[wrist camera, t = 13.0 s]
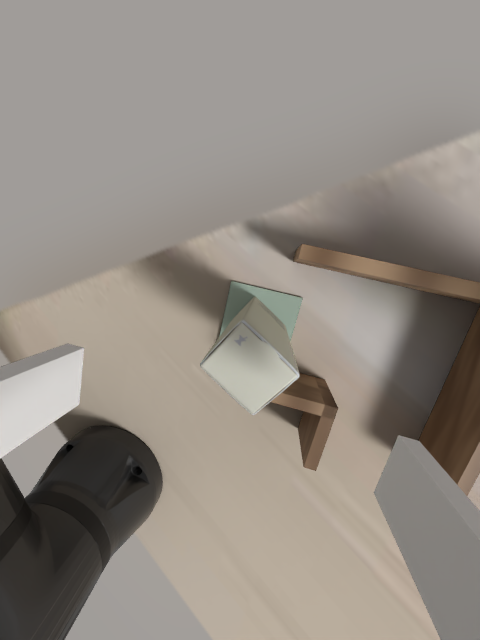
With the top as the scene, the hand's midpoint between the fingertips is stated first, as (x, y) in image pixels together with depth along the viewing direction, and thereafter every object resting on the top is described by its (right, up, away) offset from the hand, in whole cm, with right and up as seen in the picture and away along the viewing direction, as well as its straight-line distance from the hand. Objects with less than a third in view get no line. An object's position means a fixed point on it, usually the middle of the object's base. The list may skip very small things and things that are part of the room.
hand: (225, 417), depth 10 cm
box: (+3, +3, +18) cm, 18 cm away
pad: (+3, +4, +18) cm, 18 cm away
